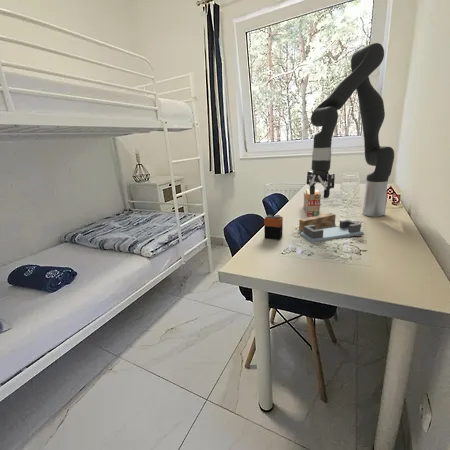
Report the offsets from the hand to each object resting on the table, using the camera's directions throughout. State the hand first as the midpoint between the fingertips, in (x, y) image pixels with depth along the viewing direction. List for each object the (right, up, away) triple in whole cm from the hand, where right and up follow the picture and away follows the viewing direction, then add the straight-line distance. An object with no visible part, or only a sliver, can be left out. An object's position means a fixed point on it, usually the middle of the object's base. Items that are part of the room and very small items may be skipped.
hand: (318, 196), depth 112 cm
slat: (+1, -14, +5) cm, 15 cm away
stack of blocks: (+6, -5, +29) cm, 30 cm away
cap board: (+3, -17, -5) cm, 18 cm away
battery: (-21, -18, -4) cm, 28 cm away
